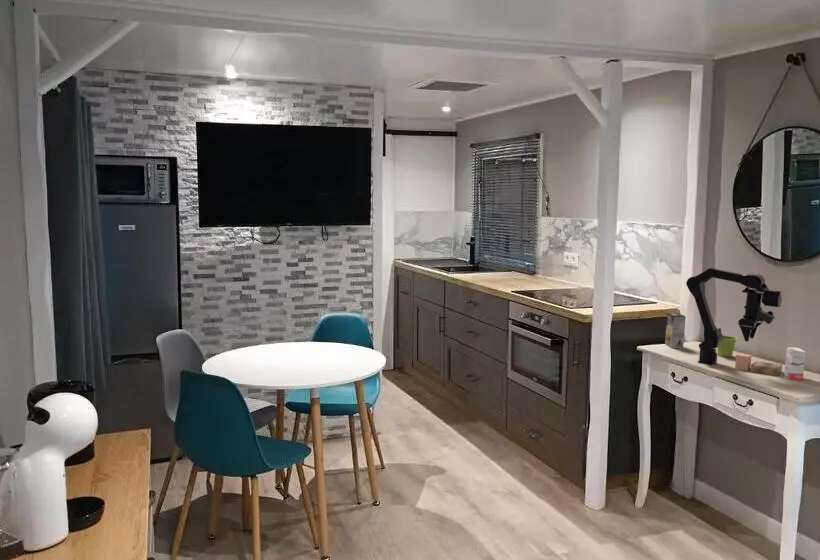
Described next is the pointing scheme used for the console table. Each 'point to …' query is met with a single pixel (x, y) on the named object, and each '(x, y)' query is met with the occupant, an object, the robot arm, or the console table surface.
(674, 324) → the coffee box
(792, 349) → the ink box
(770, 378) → the console table surface
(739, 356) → the peach block
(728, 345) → the plant pot
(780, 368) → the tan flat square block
